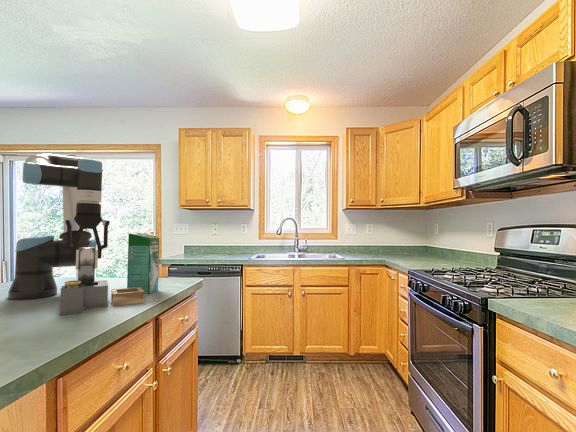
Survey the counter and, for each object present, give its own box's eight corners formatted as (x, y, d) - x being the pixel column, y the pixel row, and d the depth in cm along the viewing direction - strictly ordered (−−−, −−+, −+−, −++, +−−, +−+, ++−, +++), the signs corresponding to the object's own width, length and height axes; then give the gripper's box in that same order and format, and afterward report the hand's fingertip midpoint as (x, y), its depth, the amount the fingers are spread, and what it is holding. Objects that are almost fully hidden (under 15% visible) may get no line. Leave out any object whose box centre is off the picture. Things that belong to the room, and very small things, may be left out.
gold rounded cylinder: (64, 302, 104) (65, 281, 104) (80, 300, 106) (81, 280, 107) (63, 305, 100) (64, 283, 101) (80, 303, 103) (80, 282, 103)
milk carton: (148, 294, 130) (150, 232, 131) (126, 294, 130) (128, 232, 131) (158, 290, 139) (159, 232, 140) (137, 290, 139) (139, 232, 140)
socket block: (64, 302, 115) (65, 280, 116) (106, 298, 122) (107, 277, 122) (59, 315, 99) (60, 289, 99) (108, 310, 106) (108, 285, 106)
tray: (111, 300, 120) (111, 289, 120) (140, 297, 125) (140, 287, 125) (112, 305, 111) (112, 294, 111) (143, 302, 116) (144, 291, 117)
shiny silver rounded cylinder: (78, 281, 115) (79, 247, 115) (94, 280, 117) (95, 247, 118) (77, 283, 110) (78, 248, 111) (94, 282, 113) (95, 248, 113)
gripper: (56, 201, 107) (54, 271, 106) (118, 203, 116) (116, 268, 115) (59, 201, 113) (56, 268, 113) (117, 204, 122) (115, 265, 122)
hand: (86, 268), depth 114 cm, fingers closed on shiny silver rounded cylinder, 5 cm apart
